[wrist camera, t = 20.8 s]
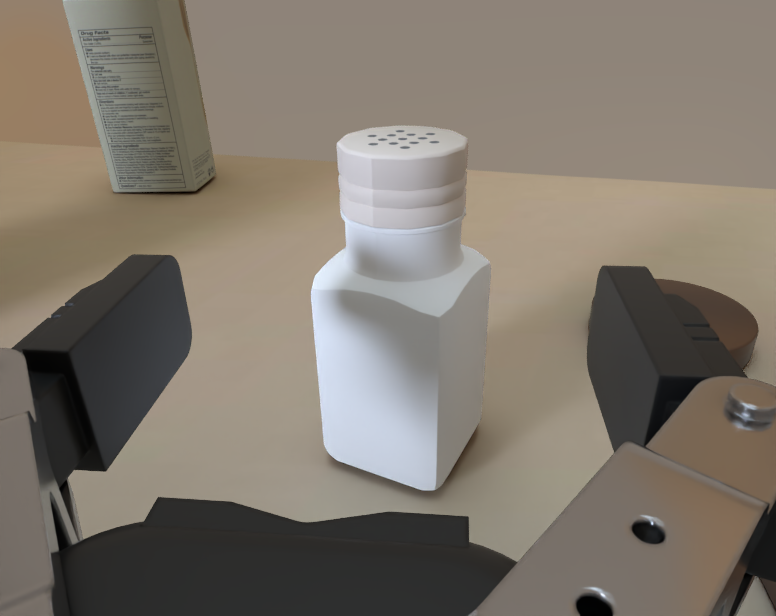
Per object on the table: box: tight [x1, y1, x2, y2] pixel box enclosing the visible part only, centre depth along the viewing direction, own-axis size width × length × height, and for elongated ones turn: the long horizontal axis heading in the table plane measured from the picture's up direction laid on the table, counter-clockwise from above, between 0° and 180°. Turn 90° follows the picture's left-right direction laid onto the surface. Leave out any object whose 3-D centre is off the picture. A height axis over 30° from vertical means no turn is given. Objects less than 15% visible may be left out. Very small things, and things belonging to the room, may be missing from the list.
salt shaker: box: [311, 126, 491, 490], centre depth 17 cm, size 4×4×10 cm
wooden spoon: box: [589, 279, 776, 608], centre depth 18 cm, size 21×6×1 cm, turn 174°
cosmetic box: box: [63, 0, 216, 192], centre depth 42 cm, size 6×4×12 cm
